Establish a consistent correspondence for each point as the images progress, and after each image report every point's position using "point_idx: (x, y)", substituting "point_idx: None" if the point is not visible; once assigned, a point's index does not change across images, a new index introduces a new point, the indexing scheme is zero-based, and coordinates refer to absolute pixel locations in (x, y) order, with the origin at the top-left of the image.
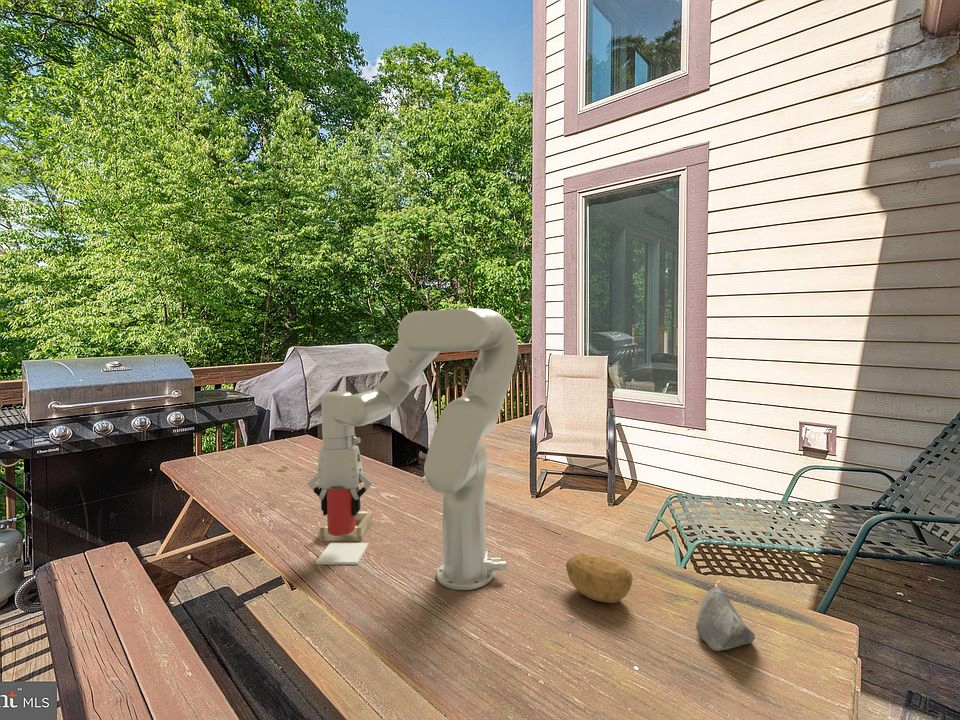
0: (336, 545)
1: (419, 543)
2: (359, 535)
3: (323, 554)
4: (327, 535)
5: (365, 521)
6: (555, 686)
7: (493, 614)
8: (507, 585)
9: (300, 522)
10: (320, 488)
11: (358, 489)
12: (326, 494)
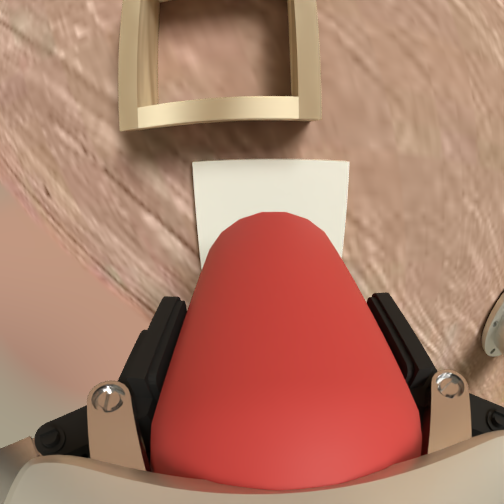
0: (226, 182)
1: (484, 165)
2: (305, 120)
3: (207, 253)
4: (162, 126)
5: (319, 48)
6: None
7: (497, 379)
8: None
9: (40, 28)
10: (75, 453)
11: (457, 430)
12: (145, 429)
